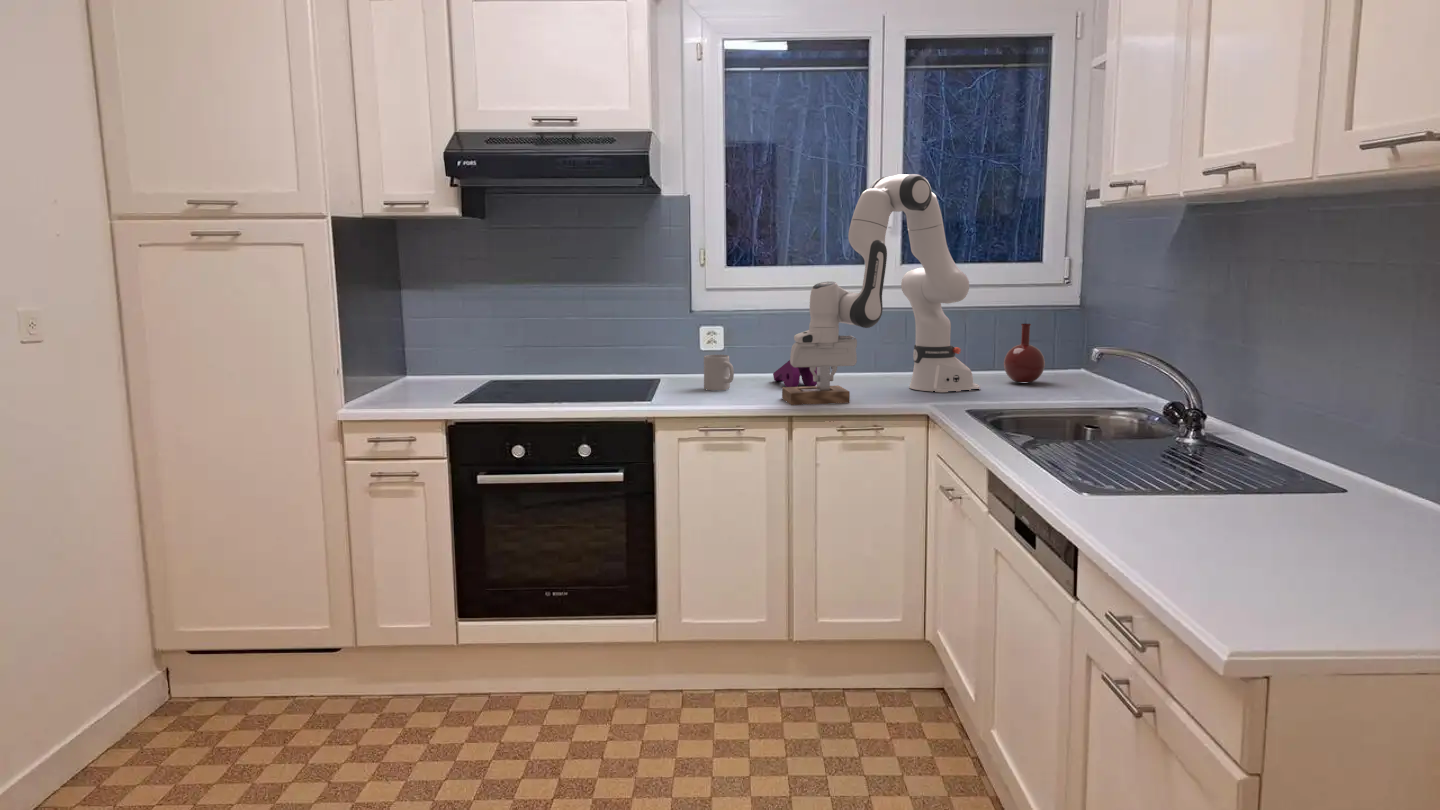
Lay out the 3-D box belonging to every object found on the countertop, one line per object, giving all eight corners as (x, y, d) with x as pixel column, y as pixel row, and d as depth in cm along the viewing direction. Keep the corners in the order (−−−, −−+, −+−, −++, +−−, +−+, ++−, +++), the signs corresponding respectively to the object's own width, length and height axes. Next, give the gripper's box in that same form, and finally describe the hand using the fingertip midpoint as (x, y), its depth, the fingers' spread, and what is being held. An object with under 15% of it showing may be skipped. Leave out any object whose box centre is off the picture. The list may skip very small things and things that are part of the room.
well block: (838, 396, 308) (838, 385, 307) (849, 402, 296) (849, 391, 295) (782, 398, 305) (782, 387, 304) (791, 405, 293) (791, 393, 292)
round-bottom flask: (1043, 381, 335) (1046, 322, 332) (1044, 387, 323) (1047, 326, 319) (1003, 379, 339) (1005, 321, 335) (1003, 385, 326) (1005, 325, 323)
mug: (698, 389, 324) (698, 356, 322) (717, 386, 330) (717, 353, 328) (723, 393, 316) (723, 359, 314) (742, 390, 321) (742, 356, 319)
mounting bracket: (773, 400, 337) (794, 384, 321) (768, 376, 339) (789, 359, 323) (798, 398, 341) (820, 382, 325) (793, 375, 343) (815, 358, 327)
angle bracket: (826, 393, 303) (826, 364, 301) (829, 395, 299) (830, 366, 297) (800, 394, 301) (801, 365, 300) (804, 396, 297) (804, 366, 296)
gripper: (854, 334, 302) (853, 378, 304) (789, 335, 299) (788, 380, 301) (860, 336, 296) (859, 381, 298) (793, 337, 293) (793, 383, 295)
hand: (823, 381), depth 300 cm, fingers closed on angle bracket, 3 cm apart
